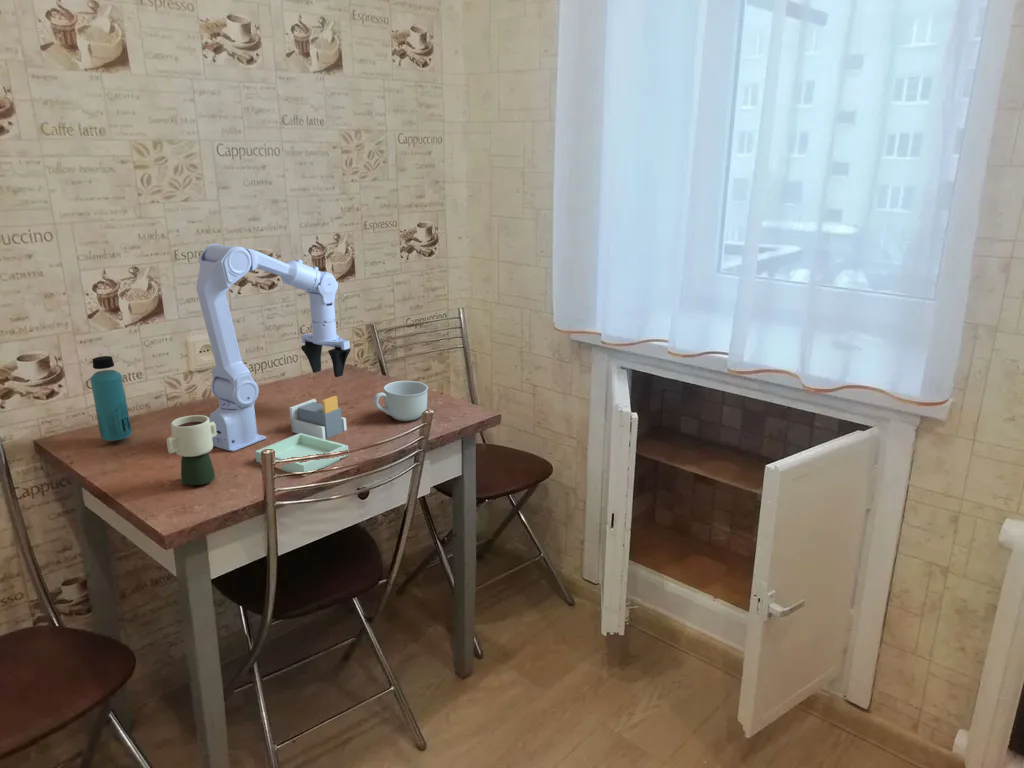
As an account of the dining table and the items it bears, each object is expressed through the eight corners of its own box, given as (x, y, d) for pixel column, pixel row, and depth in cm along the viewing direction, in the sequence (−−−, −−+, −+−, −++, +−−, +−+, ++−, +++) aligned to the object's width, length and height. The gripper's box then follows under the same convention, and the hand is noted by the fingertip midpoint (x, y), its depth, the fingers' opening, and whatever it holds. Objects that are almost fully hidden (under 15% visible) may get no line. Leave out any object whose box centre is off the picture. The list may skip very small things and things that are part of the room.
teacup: (420, 407, 190) (419, 377, 187) (435, 420, 180) (433, 389, 178) (367, 415, 184) (365, 385, 182) (379, 429, 175) (377, 397, 172)
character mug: (209, 468, 153) (201, 409, 149) (233, 475, 150) (225, 415, 146) (163, 488, 144) (153, 426, 140) (186, 496, 141) (177, 432, 137)
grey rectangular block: (327, 438, 169) (324, 401, 167) (299, 431, 174) (296, 395, 171) (342, 432, 173) (339, 396, 171) (315, 425, 178) (312, 389, 175)
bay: (323, 440, 168) (320, 415, 166) (291, 431, 173) (289, 407, 172) (346, 430, 174) (344, 406, 172) (315, 422, 179) (313, 398, 178)
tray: (304, 477, 149) (303, 465, 148) (256, 462, 156) (254, 451, 155) (348, 456, 159) (348, 445, 158) (301, 443, 166) (300, 432, 166)
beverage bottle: (128, 446, 165) (113, 360, 159) (96, 448, 164) (80, 361, 158) (137, 435, 171) (123, 352, 166) (107, 437, 170) (91, 354, 164)
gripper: (357, 320, 179) (360, 374, 183) (314, 314, 187) (318, 366, 191) (336, 326, 174) (340, 381, 178) (293, 319, 181) (298, 372, 185)
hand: (327, 373), depth 184 cm, fingers open, 7 cm apart
